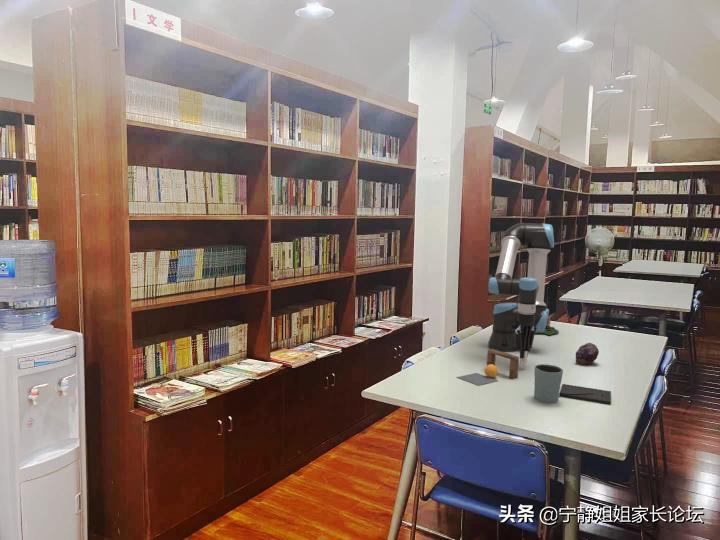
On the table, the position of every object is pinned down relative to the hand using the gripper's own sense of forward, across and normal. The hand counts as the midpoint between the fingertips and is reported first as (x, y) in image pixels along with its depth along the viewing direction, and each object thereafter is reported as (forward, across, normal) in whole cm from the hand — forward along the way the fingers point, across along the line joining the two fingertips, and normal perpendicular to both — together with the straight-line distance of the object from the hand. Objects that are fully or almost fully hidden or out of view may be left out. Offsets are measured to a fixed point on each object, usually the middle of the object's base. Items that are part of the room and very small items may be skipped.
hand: (523, 364), depth 238 cm
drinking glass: (+2, -24, -30) cm, 38 cm away
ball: (-1, -22, -1) cm, 22 cm away
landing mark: (+2, -29, 0) cm, 29 cm away
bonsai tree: (+2, +67, +44) cm, 80 cm away
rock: (+2, +35, -9) cm, 36 cm away
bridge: (+2, -14, 0) cm, 14 cm away
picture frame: (+3, -7, -35) cm, 36 cm away
